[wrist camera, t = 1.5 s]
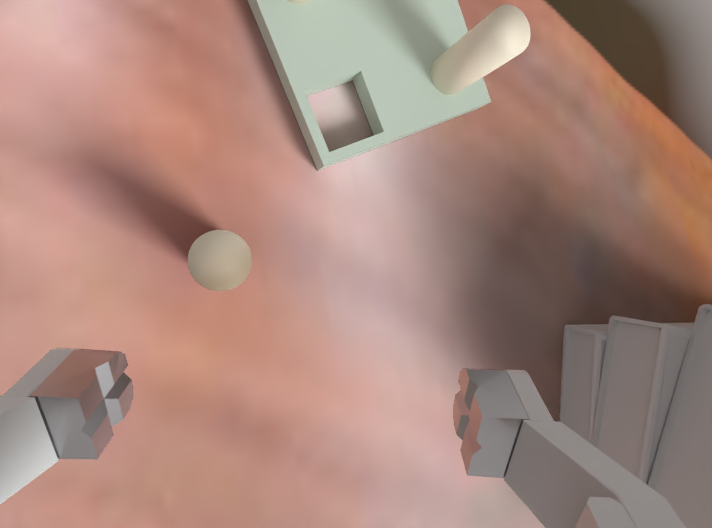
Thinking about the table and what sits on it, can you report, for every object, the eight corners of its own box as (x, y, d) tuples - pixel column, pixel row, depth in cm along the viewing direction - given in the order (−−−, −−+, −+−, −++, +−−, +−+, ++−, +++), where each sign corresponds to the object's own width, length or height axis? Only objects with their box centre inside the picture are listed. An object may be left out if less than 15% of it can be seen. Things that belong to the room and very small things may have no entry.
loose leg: (187, 245, 38) (176, 244, 27) (229, 228, 39) (236, 220, 28) (206, 285, 39) (204, 301, 27) (247, 267, 40) (261, 275, 28)
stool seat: (231, -39, 38) (240, -159, 27) (414, -78, 44) (484, -191, 33) (317, 170, 42) (357, 141, 30) (477, 109, 47) (561, 65, 36)
